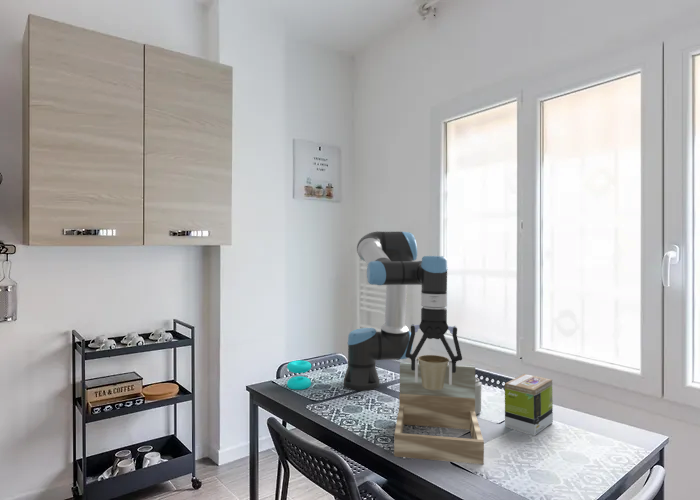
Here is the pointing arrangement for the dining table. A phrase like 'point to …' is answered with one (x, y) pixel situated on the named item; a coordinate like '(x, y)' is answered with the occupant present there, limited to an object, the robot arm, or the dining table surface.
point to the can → (477, 396)
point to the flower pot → (433, 371)
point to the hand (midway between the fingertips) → (433, 382)
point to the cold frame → (438, 417)
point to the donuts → (299, 381)
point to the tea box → (528, 404)
